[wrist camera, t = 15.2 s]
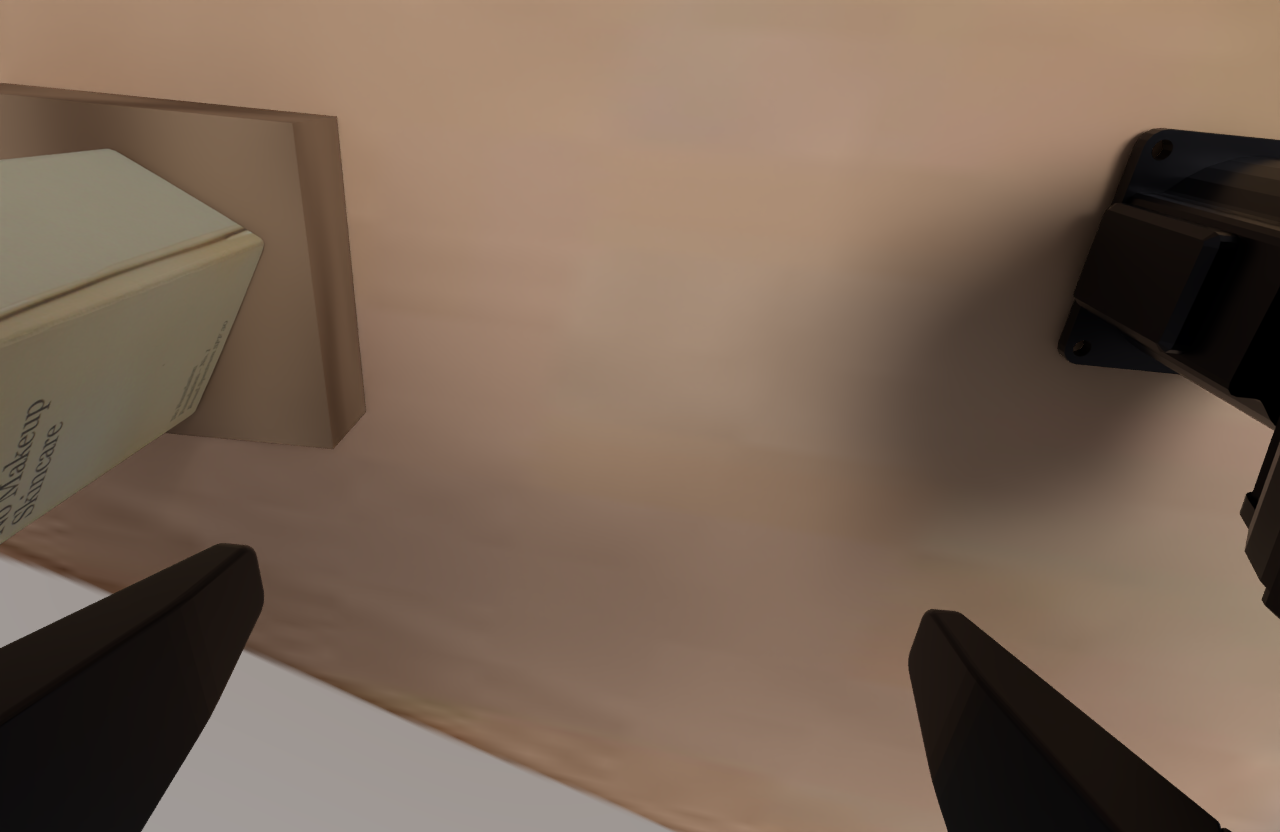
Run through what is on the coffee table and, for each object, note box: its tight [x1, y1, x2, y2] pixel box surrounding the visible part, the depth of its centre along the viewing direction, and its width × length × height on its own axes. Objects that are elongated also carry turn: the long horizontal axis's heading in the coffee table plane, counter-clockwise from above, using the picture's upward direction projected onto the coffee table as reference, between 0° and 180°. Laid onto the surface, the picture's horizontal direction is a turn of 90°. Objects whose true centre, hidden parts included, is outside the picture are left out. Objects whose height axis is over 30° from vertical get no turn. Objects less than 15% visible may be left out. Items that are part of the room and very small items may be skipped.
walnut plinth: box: [0, 83, 366, 449], centre depth 20 cm, size 9×9×2 cm
